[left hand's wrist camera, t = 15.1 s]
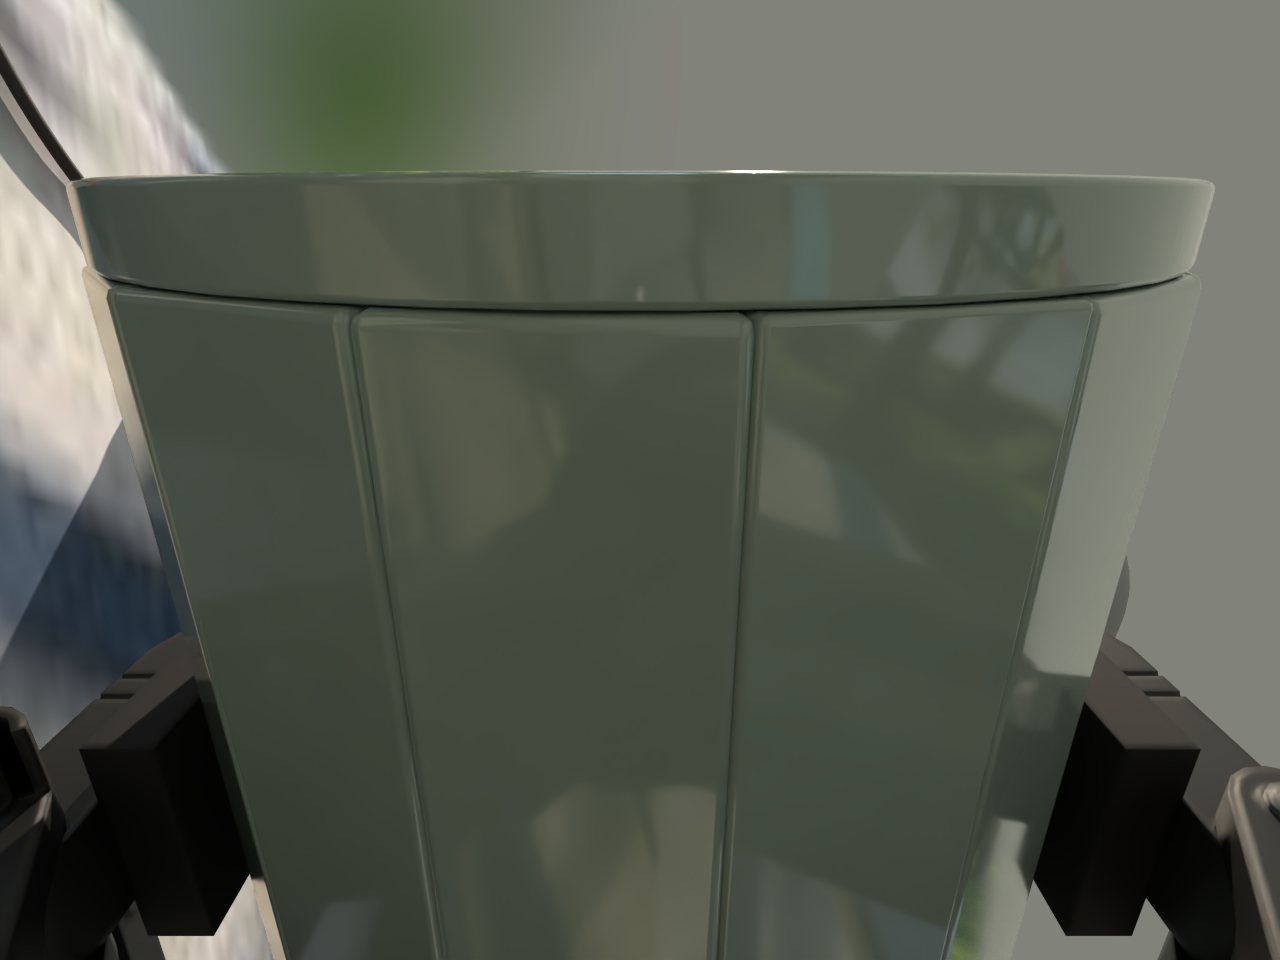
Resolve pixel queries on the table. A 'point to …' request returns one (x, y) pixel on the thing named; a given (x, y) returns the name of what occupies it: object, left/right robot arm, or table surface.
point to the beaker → (642, 536)
